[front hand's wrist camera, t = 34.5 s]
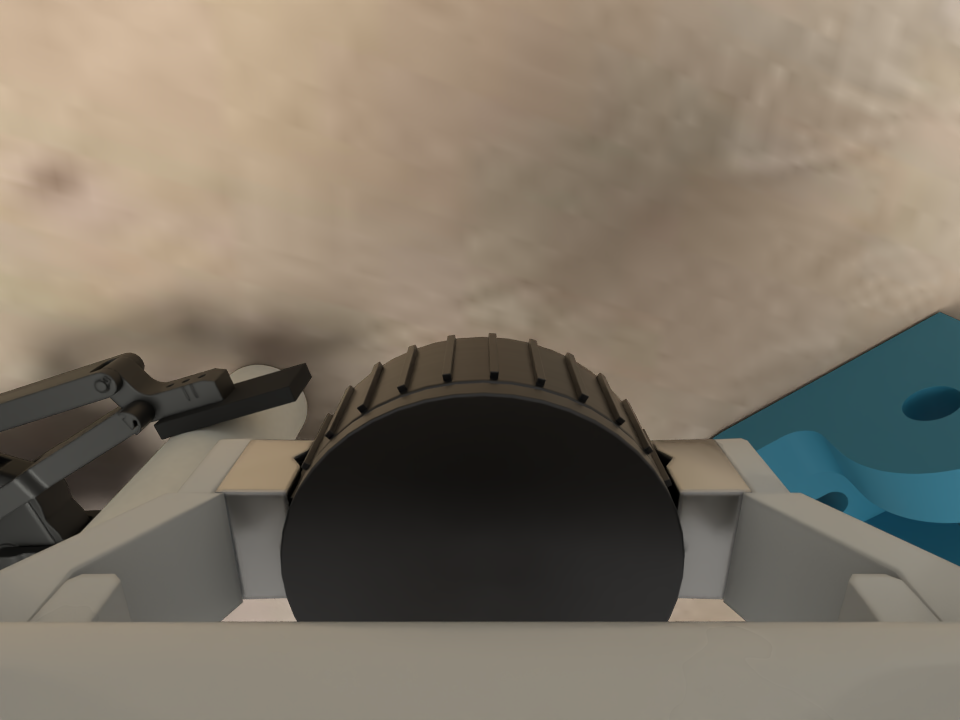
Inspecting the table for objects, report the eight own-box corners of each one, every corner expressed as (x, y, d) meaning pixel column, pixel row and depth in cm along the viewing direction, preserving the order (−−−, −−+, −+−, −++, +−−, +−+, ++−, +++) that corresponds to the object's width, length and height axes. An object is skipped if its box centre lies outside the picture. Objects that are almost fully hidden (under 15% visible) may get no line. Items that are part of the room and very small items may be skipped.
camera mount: (939, 312, 34) (1126, 394, 24) (1001, 453, 37) (1189, 577, 27) (644, 474, 37) (699, 603, 28) (723, 590, 41) (798, 742, 31)
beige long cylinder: (312, 374, 35) (151, 626, 18) (302, 450, 37) (147, 745, 20) (222, 356, 35) (-30, 597, 18) (217, 434, 37) (-18, 722, 19)
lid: (520, 255, 9) (531, 295, 7) (715, 517, 10) (767, 608, 8) (239, 462, 10) (184, 544, 8) (453, 667, 12) (449, 773, 10)
